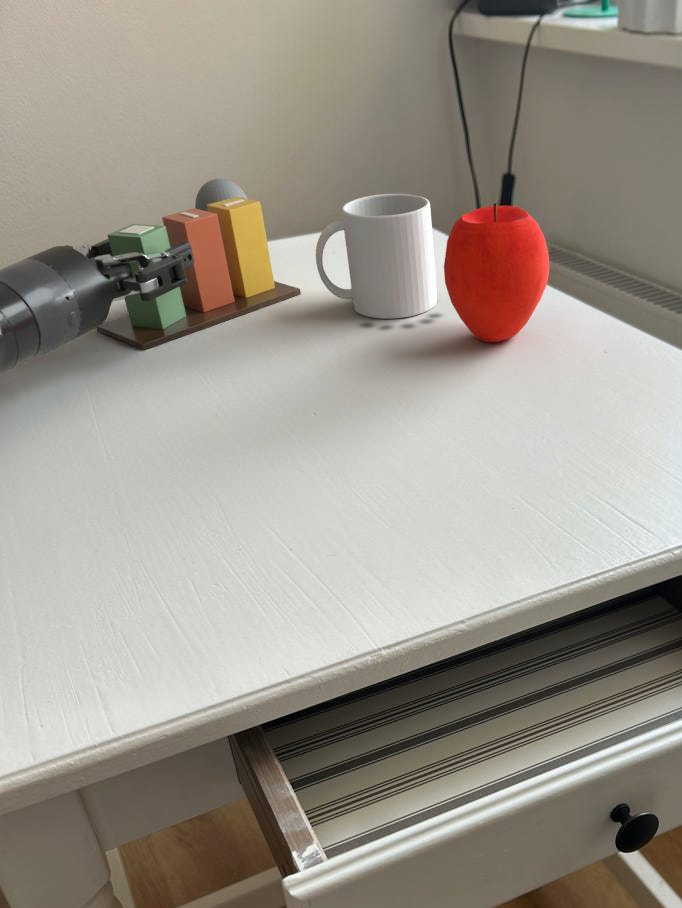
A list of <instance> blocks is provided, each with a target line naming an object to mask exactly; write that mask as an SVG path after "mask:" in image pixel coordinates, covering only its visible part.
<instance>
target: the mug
mask: <svg viewBox="0 0 682 908" xmlns="http://www.w3.org/2000/svg"><path fill="white" fill-rule="evenodd" d="M431 212H432V211H431V203H430V200H429V199H427V198H426V197H423V196H420V195H417V194H409V193H383V194H375V195H374V194H373V195H368V196H363V197H359V198H356V199H353V200H351V201H348V202H346V203H345V204H343V206H342V207H341V216H342V219H338V220H334V221H332V222H331V223H329V224H328V225H327V226H325V228H324V229H323V230H322V232H321V233H320V235H319V238H318V239H317V243H316V246H315V247H316V248H315V263H316V264H315V265H316V268H317V272H318V275H319V278H320V280H321V281H322V283H323V285H324V286H325V288H326V290H328V291H329V292H330V293H331V294H333V295H334V296H335V297H337V298H339V299H342V300H352V304H353V309H354V310H355V311H356V313H358V314H359V315H361V316H364V317H368V318H373V319H383V320H385V319H386V320H388V319H389V320H390V319H391V320H392V319H404V318H410V317H413V316H414V317H415V316H418V315H420V314H423V313H426V312H428V311H430V310H432V309H433V308H434V307H435V306H436V304H437V302H438V294H437V293H438V292H437V282H436V281H437V279H436V266H435V251H434V241H433V240H434V239H433V226H432V225H433V224H432V213H431ZM341 231H344V239H345V240H344V241H345V248H346V256H347V263H348V272H349V278H350V286H351V288H342V287H339V286H338V285H335V284H334V283H333V282H332V281H331V280H330V278H329V276H328V275H327V274H326V271H325V268H324V262H323V256H324V255H323V254H324V250H325V246H326V244H327V243H328V240H329V239H330V238H331V237H332V236H333V235H334V234H336V233H338V232H341Z"/></svg>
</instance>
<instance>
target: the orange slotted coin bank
mask: <svg viewBox="0 0 682 908" xmlns="http://www.w3.org/2000/svg"><path fill="white" fill-rule="evenodd" d="M161 218H162V219H161V220H162V223H163V226H166V230H167V235H168V239H169V243H170V247H173V246H175V245H177V244H179V243H181V242H185V243H190V245H191V248H192V252H193V257H194V261H195V263H194V264H193V266H191V267H189V268H187V269H185V275H186V279H187V283H186V284H184V285H182V286H180V291H181V295H182V299H183V303H184V306H186V307H189V308H192V309H195V310H198V311H201V312H207V311H210V310H213V309H216V308H218V307H221V306H224V305H227V304H230V303H233V302H234V297H233V292H232V287H231V282H230V277H229V272H228V267H227V262H226V257H225V252H224V247H223V242H222V237H221V232H220V227H219V222H218V216H217V214H215V213H211V212H207V211H203V210H199V209H196V208H195V207H194V208H191V209H187V210H182V211H179V212H175V213H171V214H168V215H165V216H162V217H161Z"/></svg>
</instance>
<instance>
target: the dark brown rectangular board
mask: <svg viewBox="0 0 682 908" xmlns="http://www.w3.org/2000/svg"><path fill="white" fill-rule="evenodd" d="M274 285H275V288H273V289H271V290H268V291H265V292H262V293H259V294H256V295H253V296H250V297H248V298H245V297H241V296H238V295H235V294H233V297H234V302H233V303H230V304H227V305H224V306H221V307H218V308H216V309H213V310H210V311H207V312H201V311H198V310H195V309H192V308H189V307H186V306H184V308H185V312H186V317H184V318H182V319H180V320H179V321H177V322H175V323H173V324H172V325H170V326H168V327H167V328H165V329H155V328H147V327H138V326H132V325H131V321H130V318H129V314H126V315H123V316H119V317H116V318H113V319H111V320H108V321H104V322H103V323H102V324H101V325H99V326H98V327H96V328H95V330H96V331H97V332H98V333H101V334H103V335H106V336H108V337H111V338H114V339H116V340H118V341H120V342H124V343H126V344H129V345H131V346H133V347H135V348H138V349H141V350H144V351H146V350H149V349H151V348H154V347H157V346H160V345H163V344H166V343H168V342H170V341H173V340H176V339H179V338H182V337H184V336H187V335H190V334H193V333H196V332H198V331H202V330H204V329H208V328H210V327H212V326H215V325H219V324H221V323H224V322H226V321H229V320H231V319H235V318H239V317H241V316H243V315H246V314H249V313H251V312H255V311H257V310H260V309H263V308H265V307H266V308H267V307H268V306H270V305H274V304H276V303H280V302H282V301H285V300H288V299H290V298H294V297H296V296H299V295H301V294H302V292H301V288H299V287H296V286H293V285H289V284H286V283H282V282H279V281H275V280H274Z"/></svg>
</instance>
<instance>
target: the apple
mask: <svg viewBox="0 0 682 908" xmlns="http://www.w3.org/2000/svg"><path fill="white" fill-rule="evenodd" d="M547 246H548V245H547V242H546V239H545V235H544V233H543V231H542V230H541V228H540V225H539V224H538V222H537V221H536V220H535V219H534V218H533V217H532V216H531V215H530V214H529V213H528V212H527V211H526V210H524V209H523V208H521V207H518V206H512V205H497V203H496V202H495V203H493V205H491V206H484V207H479V208H476V209H474V210H472V211H469V212H467V213H464V214H463V215H462V216H461V217H459V218H458V219H457V220H456V221H455V222H454V224H453V226H452V228H451V230H450V233H449V235H448V238H447V240H446V248H445V255H444V263H443V274H444V284H445V286H446V290H447V293H448V296H449V300H450V303H451V304H452V306H453V308H454V311H456V313H457V316H458V317H459V319H460V320H461V321H462V322H463V324H464V325H465V327H466V328H467V329H468V330H469V331H470V333H471V334H472V336H474V337H475V338H476V339H478V340H480V341H482V342H484V343H498V342H502V341H506V340H509V339H511V338H513V337H515V336H516V335H517V334H519V333H520V331H521V330H523V328H524V327H525V326H526V325H527V323H528V322H529V321H530V319H531V318H532V316H533V313H534V312H535V310H536V308H537V307H538V305H539V304H540V302H541V300H542V297H543V294H544V292H545V290H546V287H547V285H548V281H549V274H550V273H549V272H550V256H549V251H548V247H547Z"/></svg>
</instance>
